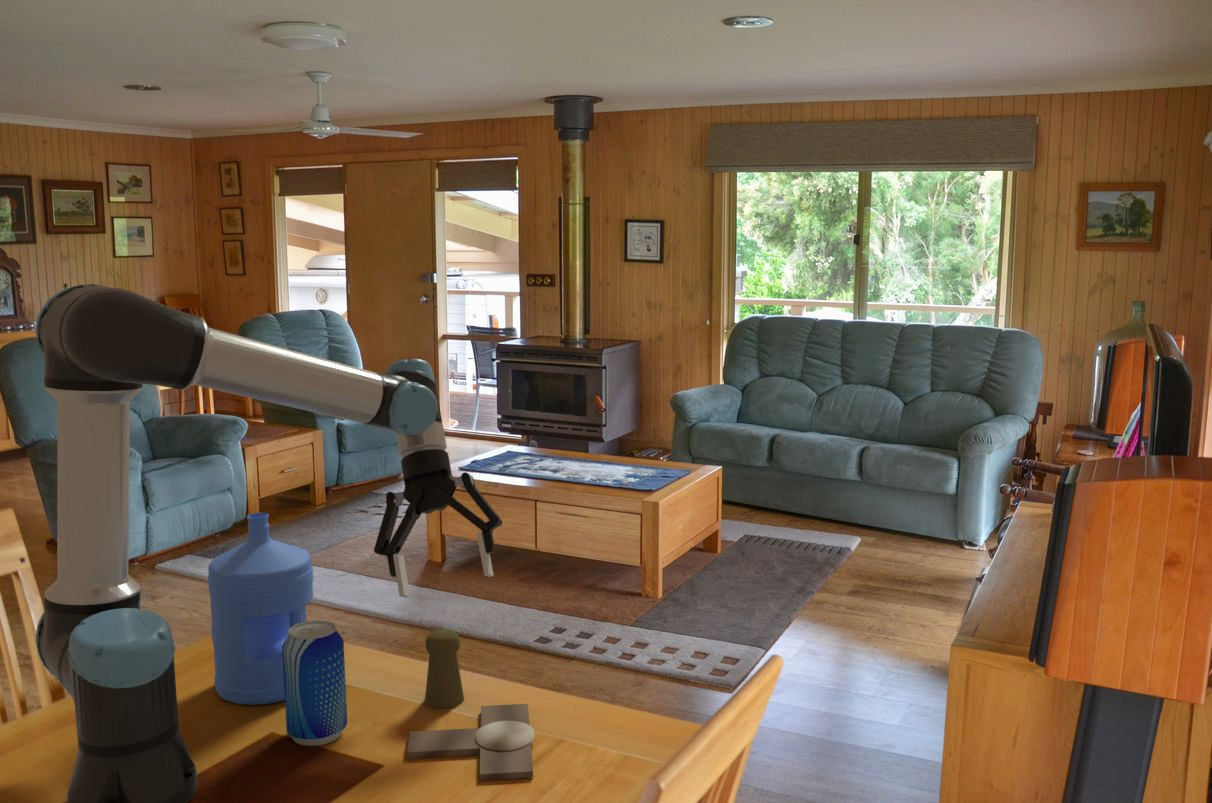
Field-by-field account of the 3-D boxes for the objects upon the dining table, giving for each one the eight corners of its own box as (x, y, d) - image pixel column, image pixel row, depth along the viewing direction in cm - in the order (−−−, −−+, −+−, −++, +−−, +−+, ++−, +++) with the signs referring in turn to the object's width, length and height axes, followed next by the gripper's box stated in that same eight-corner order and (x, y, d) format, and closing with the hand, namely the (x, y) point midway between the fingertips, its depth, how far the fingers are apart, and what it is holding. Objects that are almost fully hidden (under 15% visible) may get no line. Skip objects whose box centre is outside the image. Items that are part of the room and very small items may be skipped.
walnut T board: (402, 785, 136) (402, 776, 136) (413, 715, 156) (413, 707, 156) (538, 777, 138) (538, 768, 138) (532, 709, 158) (532, 701, 157)
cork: (456, 710, 157) (454, 641, 156) (418, 707, 159) (416, 638, 157) (469, 693, 163) (467, 626, 162) (433, 689, 164) (430, 623, 163)
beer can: (318, 716, 156) (313, 613, 153) (359, 729, 152) (355, 624, 149) (274, 739, 149) (268, 632, 146) (316, 754, 144) (311, 644, 142)
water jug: (193, 697, 162) (180, 523, 158) (262, 659, 176) (253, 498, 172) (273, 714, 156) (263, 534, 152) (338, 674, 170) (330, 508, 166)
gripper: (504, 440, 168) (530, 569, 162) (359, 478, 171) (379, 606, 165) (492, 429, 161) (518, 564, 155) (340, 469, 164) (360, 603, 157)
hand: (446, 586), depth 160 cm, fingers open, 13 cm apart
